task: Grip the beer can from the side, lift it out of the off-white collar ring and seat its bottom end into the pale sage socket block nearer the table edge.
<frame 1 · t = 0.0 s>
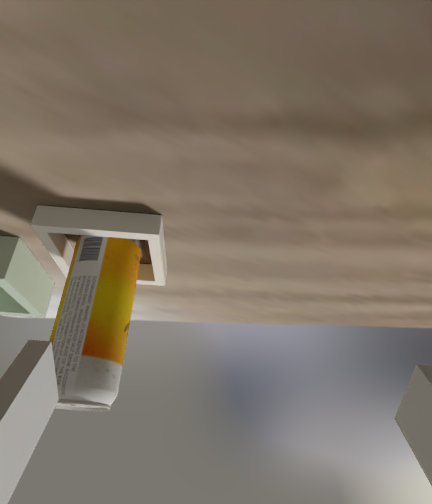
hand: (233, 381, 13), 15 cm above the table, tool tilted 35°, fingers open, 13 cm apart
beer can: (111, 239, 35), resting in collar
collar: (111, 241, 35), on the table
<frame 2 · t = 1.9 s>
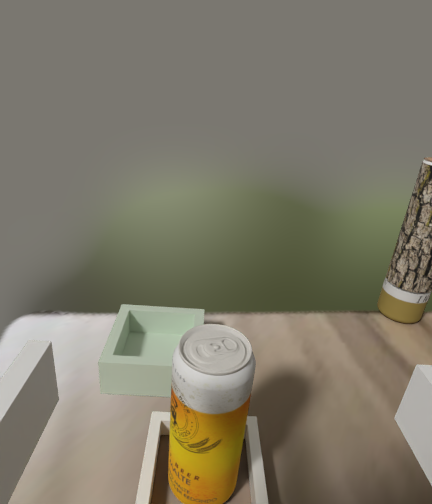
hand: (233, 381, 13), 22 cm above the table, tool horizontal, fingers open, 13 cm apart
paper tube: (397, 314, 60), on the table
beer can: (202, 480, 32), resting in collar
socket: (157, 361, 45), on the table
collar: (202, 478, 32), on the table
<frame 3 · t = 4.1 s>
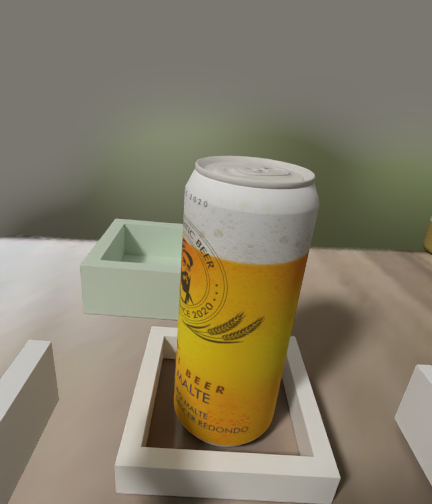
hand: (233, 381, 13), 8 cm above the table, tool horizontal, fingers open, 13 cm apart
beer can: (222, 412, 22), resting in collar
socket: (159, 285, 35), on the table
collar: (222, 410, 22), on the table
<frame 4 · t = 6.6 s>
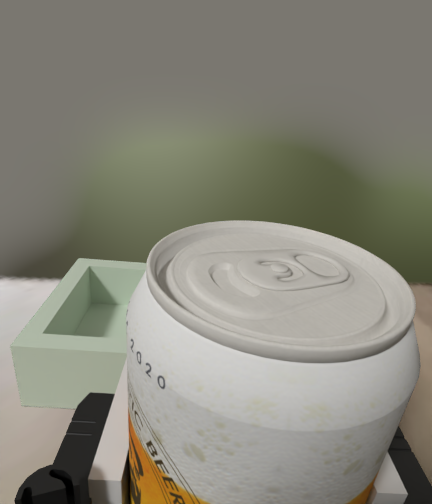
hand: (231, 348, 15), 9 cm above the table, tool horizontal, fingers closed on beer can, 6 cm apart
socket: (133, 350, 27), on the table
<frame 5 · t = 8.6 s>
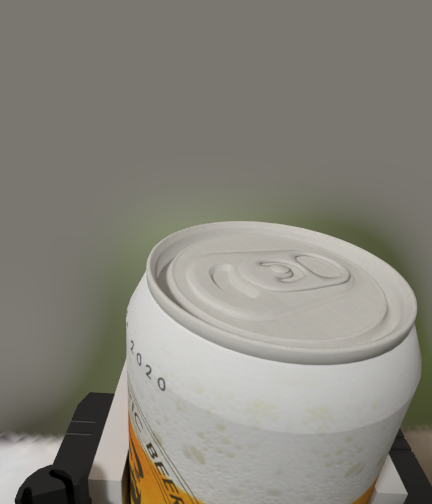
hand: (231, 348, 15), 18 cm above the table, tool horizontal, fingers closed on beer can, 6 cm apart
when the fingers open (11 cm above the table, at t = 11.0 s): beer can drops 1 cm, resting on socket.
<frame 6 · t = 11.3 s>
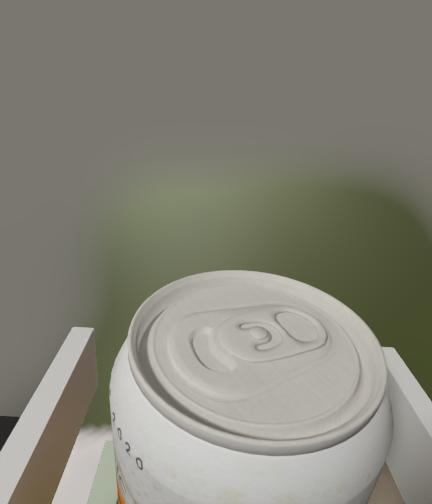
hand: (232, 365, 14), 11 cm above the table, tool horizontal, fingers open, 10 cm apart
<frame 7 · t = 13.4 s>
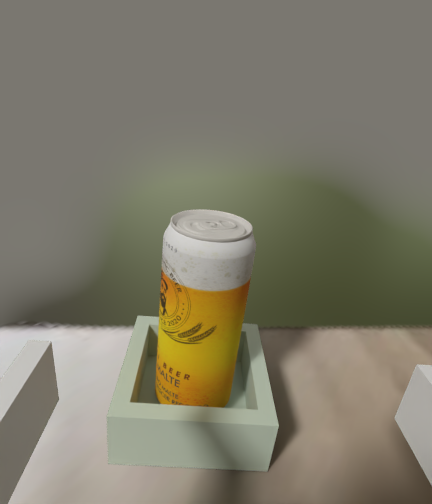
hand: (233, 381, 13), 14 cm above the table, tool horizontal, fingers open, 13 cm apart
beer can: (192, 396, 29), point 1 cm above the table, touching socket
socket: (192, 403, 30), on the table
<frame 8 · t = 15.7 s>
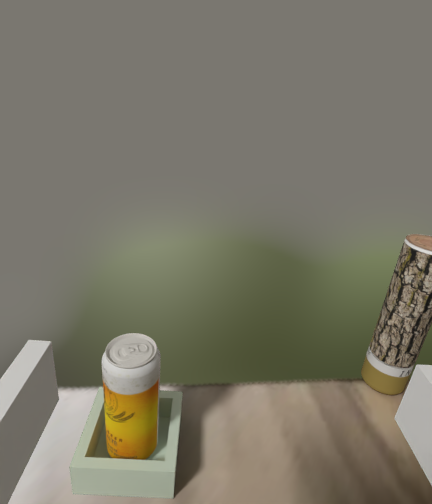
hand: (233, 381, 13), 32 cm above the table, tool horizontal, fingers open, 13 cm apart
paper tube: (381, 382, 59), on the table
beer can: (132, 446, 44), point 1 cm above the table, touching socket
socket: (133, 450, 44), on the table
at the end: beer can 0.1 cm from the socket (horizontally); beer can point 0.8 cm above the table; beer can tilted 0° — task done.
